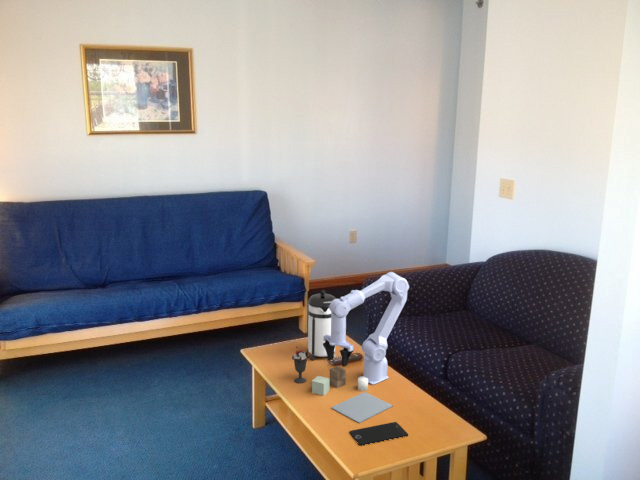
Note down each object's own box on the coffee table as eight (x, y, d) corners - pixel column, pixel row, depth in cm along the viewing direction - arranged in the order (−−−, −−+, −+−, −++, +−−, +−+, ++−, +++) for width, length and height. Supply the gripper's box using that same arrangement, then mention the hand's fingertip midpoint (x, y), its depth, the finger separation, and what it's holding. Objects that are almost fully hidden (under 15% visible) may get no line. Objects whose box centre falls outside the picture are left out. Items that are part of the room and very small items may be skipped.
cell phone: (348, 433, 199) (348, 430, 198) (396, 423, 205) (396, 421, 205) (359, 447, 191) (360, 444, 190) (408, 437, 197) (408, 434, 197)
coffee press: (346, 353, 261) (348, 289, 255) (323, 365, 250) (324, 297, 243) (317, 343, 273) (318, 281, 266) (293, 353, 261) (294, 288, 254)
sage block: (317, 387, 230) (318, 375, 229) (329, 390, 228) (329, 378, 227) (311, 392, 226) (312, 380, 224) (323, 395, 223) (323, 383, 222)
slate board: (364, 392, 226) (364, 391, 226) (392, 406, 216) (392, 405, 216) (331, 408, 214) (331, 407, 214) (359, 423, 204) (359, 422, 204)
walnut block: (337, 380, 236) (337, 365, 234) (345, 384, 233) (345, 369, 231) (329, 384, 233) (329, 369, 231) (337, 388, 230) (337, 372, 228)
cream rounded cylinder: (362, 385, 232) (362, 375, 231) (369, 388, 229) (370, 379, 229) (355, 388, 230) (355, 378, 229) (362, 392, 227) (363, 382, 226)
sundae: (289, 382, 233) (289, 347, 230) (296, 375, 239) (296, 341, 236) (304, 385, 231) (304, 350, 228) (311, 378, 237) (311, 343, 234)
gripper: (317, 327, 230) (317, 359, 233) (344, 338, 219) (343, 371, 222) (330, 323, 234) (330, 354, 237) (357, 333, 224) (356, 366, 227)
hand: (337, 362), depth 230 cm, fingers open, 7 cm apart
